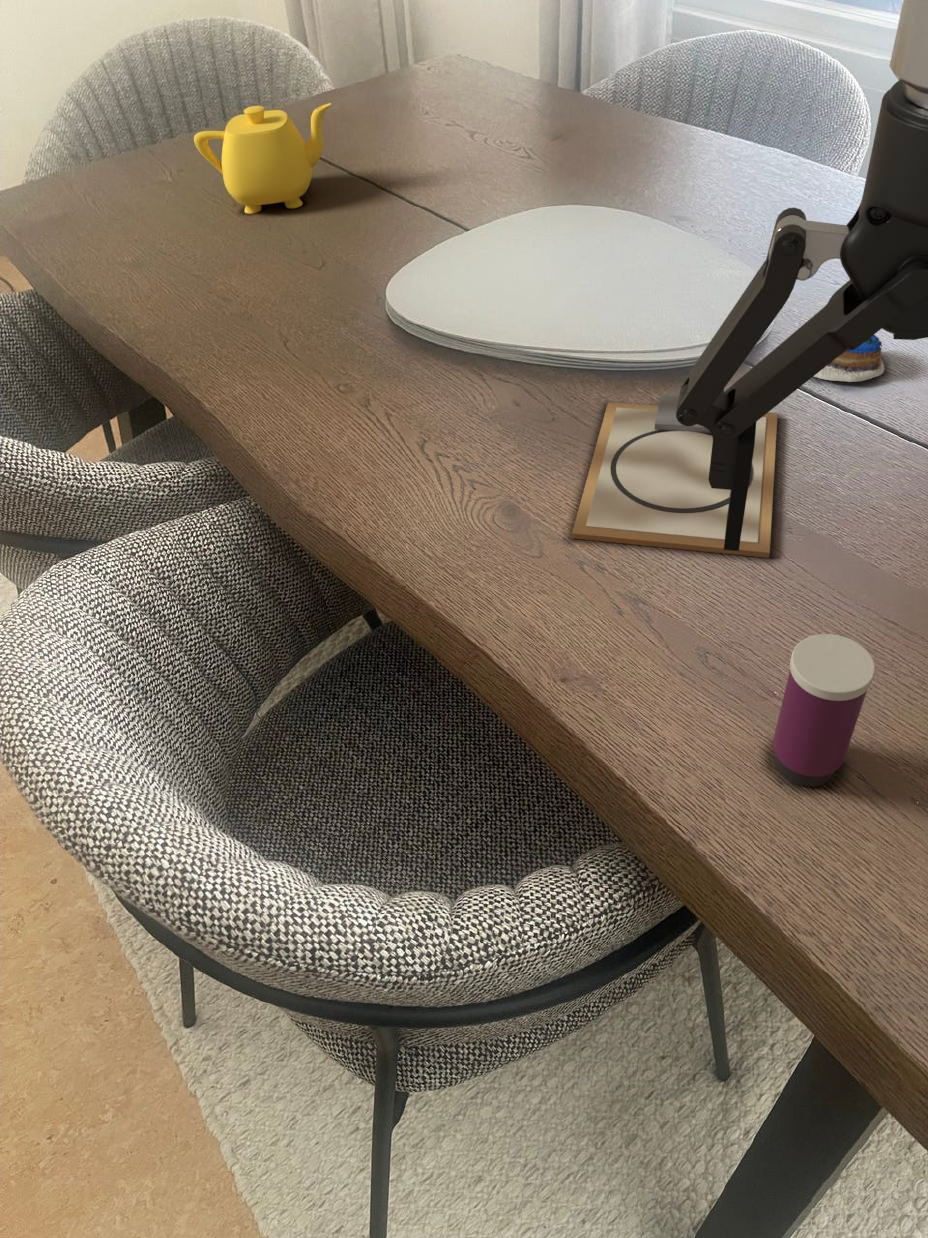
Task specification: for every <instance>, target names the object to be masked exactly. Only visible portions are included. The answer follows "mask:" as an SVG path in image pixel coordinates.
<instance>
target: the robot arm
mask: <svg viewBox="0 0 928 1238" xmlns="http://www.w3.org/2000/svg"><path fill="white" fill-rule="evenodd" d="M889 62H890V63H889V68H890V69H891V71H892V73H893V75H894V76H895V77H896V79H897V80H898V81H896V82H895V83H894V84H893V85H892V86H891V87H890V89H888V90H887V91H886V92H885V93H884V94H883V96H882V98H881V103H880V107H879V108H880V109H879V113H878V118H877V124H876V128H875V133H874V137H873V143H872V147H871V153H870V157H869V163H868V168H867V173H866V179H865V183H864V187H863V192H862V198H861V201H860V203H859V205H858V208H857V210H856V212H855V213H854V214H853V216H852V217H851V218H850V220H849V221H848V222H847V224H838V223H831V222H822V221H815V220H814V221H813V220H808V219H807V216H806V214H805V212H804V211H803V210H802V209H800V208H797V207H788V208H787V209H783V210H782V211H781V212H780V213H779V214H778V215H777V218H776V220H775V223H774V226H773V230H772V231H773V232H772V235H771V239H770V243H769V247H768V249H767V250H768V251H767V255H766V258H765V260H764V261H763V263H762V265H761V266H760V268H759V269H758V270H757V272H756V274H755V275H754V276H753V278H752V279H751V281H750V282H749V284H748V285H747V287H746V288H745V290H744V291H743V293H742V294H741V295H740V297H739V299H738V300H737V302H735V304H734V306H733V308H732V309H731V310H730V311H729V313H728V315H727V316H726V318H725V319H724V321H723V322H722V324H721V325H720V326H719V328H718V330H717V331H716V332H715V334H714V336H713V337H712V338H711V340H710V341H709V342H708V344H707V346H706V347H705V349H704V350H703V351H702V353H701V355H700V356H699V357H698V359H697V360H696V362H695V364H694V365H693V366H692V368H691V369H690V371H689V373H688V374H687V375H686V377H685V378H684V380H683V381H682V383H681V386H680V390H679V394H678V396H679V400H678V406H677V411H676V418H677V420H678V422H679V423H681V424H682V425H685V426H694V425H696V424H698V425H701V426H703V427H705V428H707V429H708V430H709V431H710V432H711V434H712V436H713V444H712V453H711V462H710V471H709V479H708V480H709V483H710V485H711V488H714V489H727V490H731V492H730V499H729V506H728V514H727V522H726V532H725V541H724V550H732V551H739V545H740V539H741V532H742V526H743V519H744V512H745V506H746V499H747V492H748V486H749V479H750V472H751V466H752V459H753V452H754V446H755V433H756V421H758V420H759V419H760V418H762V417H763V416H764V415H765V414H767V413H770V411H772V410H773V409H774V408H775V407H777V406H778V405H779V404H781V403H782V402H783V401H784V400H785V399H787V398H788V397H789V396H791V395H792V394H793V393H794V392H796V391H797V390H798V389H800V388H801V387H802V386H803V385H804V384H806V383H807V382H808V381H810V380H811V379H812V378H814V377H813V376H814V375H816V374H817V373H818V372H819V371H821V370H822V369H823V368H824V367H826V366H827V365H828V364H830V363H831V362H832V361H833V360H835V359H836V358H837V357H838V356H840V355H841V354H842V353H843V352H845V351H847V350H851V351H852V350H854V349H856V348H857V347H859V346H860V345H861V344H863V343H864V342H865V341H867V340H868V339H869V338H870V337H872V336H873V335H875V334H877V333H878V332H879V331H881V330H884V331H885V332H887V333H889V334H892V337H893V340H903V341H904V340H905V341H916V340H921V339H927V338H928V0H902V5H901V10H900V14H899V20H898V24H897V29H896V32H895V39H894V42H893V47H892V52H891V56H890V61H889ZM835 259H836V260H837V259H838V260H840V264H841V266H842V268H843V270H844V271H845V273H846V275H847V277H848V278H849V280H847V281H846V282H845V283H844V284H843V285H842V286H841V287H839V288H838V289H837V290H836V291H835V292H834V293H833V294H832V295H831V297H830V298H829V300H828V301H827V303H826V304H825V306H823V307H822V308H821V309H819V310H818V312H816V313H815V314H814V315H813V316H812V317H811V318H809V319H808V320H807V321H806V322H805V323H803V324H802V325H801V326H800V327H799V328H798V329H796V330H795V331H794V332H792V333H791V335H789V336H788V337H787V338H786V339H785V340H783V341H782V342H781V343H780V344H778V346H777V347H775V348H774V349H773V350H771V351H770V352H769V353H768V354H767V355H765V356H764V357H763V358H762V359H761V360H760V361H759V362H757V363H756V364H755V365H754V366H752V367H751V369H750V370H748V371H747V372H746V373H744V374H743V375H742V376H741V377H739V379H737V380H736V381H735V382H734V383H733V384H731V385H730V386H729V387H728V388H727V389H726V390H725V388H726V387H727V385H728V384H729V382H730V381H731V379H732V378H733V377H734V376H735V374H736V373H737V371H738V370H739V369H740V367H742V364H743V363H744V362H745V361H746V359H747V358H748V356H749V355H750V354H751V352H752V351H753V349H754V348H755V346H756V345H757V344H758V342H759V341H760V339H761V338H762V337H763V336H764V334H765V333H766V331H767V330H768V328H769V327H770V326H771V325H772V323H773V321H774V320H775V319H776V317H777V316H778V314H779V313H780V312H781V311H782V310H783V308H784V306H785V305H786V303H787V302H788V300H789V298H790V296H791V294H792V292H793V290H794V288H795V285H796V282H797V281H798V280H799V281H806V280H809V279H811V278H813V277H815V275H816V274H817V272H818V271H819V269H820V268H821V266H822V265H823V264H824V263H826V262H828V261H830V260H835Z"/></svg>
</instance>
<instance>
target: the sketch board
mask: <svg viewBox="0 0 928 1238" xmlns="http://www.w3.org/2000/svg"><path fill="white" fill-rule="evenodd" d="M678 400H679V395H676V394H675V395H674V394H660V397H659V400H658V402H659V403H658V404H657V405H656V404H641V403H639V404H638V403H623V402H610V401H609V402H607V405H606V409H605V412H604V415H603V419H602V423H601V426H600V430H599V433H598V437H597V440H596V444H595V449H594V452H593V456H592V459H591V462H590V467H589V470H588V474H587V478H586V482H585V485H584V489H583V493H582V496H581V500H580V503H579V507H578V510H577V514H576V518H575V521H574V525H573V528H572V532H571V538H572V539H575V540H585V541H595V542H603V543H615V544H624V545H634V546H635V545H636V546H644V547H645V546H646V547H655V548H665V549H675V550H685V551H693V552H694V551H695V552H703V553H704V552H705V553H713V554H714V553H715V554H725V555H735V556H743V557H744V556H746V557H754V558H765V559H769V558H770V555H771V542H772V541H771V540H772V539H771V538H772V525H773V523H772V521H773V505H774V489H775V488H774V487H775V485H774V484H775V468H776V450H777V436H778V435H777V431H778V415H779V414H778V412H768V413H767V414H765V415H764V416H763V417H762V418H760V419H759V420H758V421H756V433H755V446H754V452H753V459H752V466H751V472H750V479H749V486H748V492H747V499H746V506H745V512H744V519H743V526H742V532H741V539H740V545H739V551H732V550H724V541H725V532H726V522H727V514H728V506H729V499H730V492H731V490H727V489H714V488H711V485H710V483H709V480H708V479H709V471H710V462H711V453H712V444H713V436H712V434H711V432H710V431H709V430H708V429H707V428H705V427H703V426H701V425H698V424H696V425H694V426H685V425H682V424H681V423H679V422H678V420H677V418H676V411H677V406H678Z"/></svg>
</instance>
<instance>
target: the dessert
mask: <svg viewBox="0 0 928 1238" xmlns="http://www.w3.org/2000/svg"><path fill="white" fill-rule="evenodd" d="M882 348H883V344H882V341H881V340H880V338H879V337H878V336H876V335H875V334H874V335H873V336H872V337H870V338H869V339H868V340H867V341H865V342H864V343H863V344H861V345H860V346H859V347H857V348H856V349H854V350H852V351H851V350H847V351H845V352H843V353H842V354H841V355H840V356H838V357H837V358H836V359H835V360H833V361H832V362H831V363H830V364H828V365H827V366H826V367H824V368H823V369H822V370H821V371H819V372H818V373H817V374H816V375H814V376H813V377H812V378H817V379H821V380H826V381H834V382H835V381H837V382H838V381H839V382H848V383H852V382H853V383H856V382H863V381H867V380H871V379H873V378H876V377H879V376H882V375H883V374H884V372H885V364H884V361H883V360H882V353H883V351H882Z"/></svg>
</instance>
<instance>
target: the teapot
mask: <svg viewBox="0 0 928 1238" xmlns="http://www.w3.org/2000/svg"><path fill="white" fill-rule="evenodd" d="M331 105H332V102H329V103H325V104H322V105H320V106H318V107H316V108H315V109H314V110H313V111H312V112H311V113H312V114H311V116H310V138H309V139H308V141H307V142H306V143H305V140H304V139H303V137H302V135H301V134H300V132H299V129H298V128H297V127H296V125H295V124H294V122H293V120H292V119H291V117H290V116H289V115H288V113H287V112H285V111H283V110H281V109H272V110H265V107H264V106H261V105H252V106H248V107H246V108H245V109H244V110H243V113H241V114H238V115H236V116H234V117H232V118H230V120H229V121H228V122H227V123H226V126H225V129H224V130H204V131H198V132H197V133H196V134H195V135H194V136H193V142H194V145H195V147H196V149H197V150H198V152H199V154H201V156H202V157H203V158H204V159H205V160H206V161H207V162H208V163H210V164H211V165H212V166H213V167H214V168H215V169H216V170H217V171H218V172H220V173H221V174H222V180H223V183H224V186H225V188H226V190H227V192H228V194H229V195H230V196H231V197H232V198H233V199H234V201H236V202H237V203H238V204H239V205H242V206H245V207H244V213H245V214H251V215H252V214H256V213H259V212H261V210H262V205H271V204H278V203H284V205H285V208H287V209H296V208H299V207H301V206H303V201H302V199H301V198H300V197H302V196H303V195H304V194H305V193H306V192H307V190H308V189H309V187H310V184H311V181H312V178H313V176H314V175H313V174H314V167H315V166H316V165H317V164H318V162H319V161H320V159H321V157H322V154H323V149H324V148H323V147H324V142H323V141H324V140H323V137H324V136H323V128H322V126H323V124H322V123H323V118H324V115H325V112H326V111H327V110H328V109H329V108H330V107H331ZM211 140H222V149H221V161H220V159H218V157H217V156H216V155H215V154H214V151H213V150H212V149H211V147H210V145H209V141H211Z"/></svg>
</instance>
